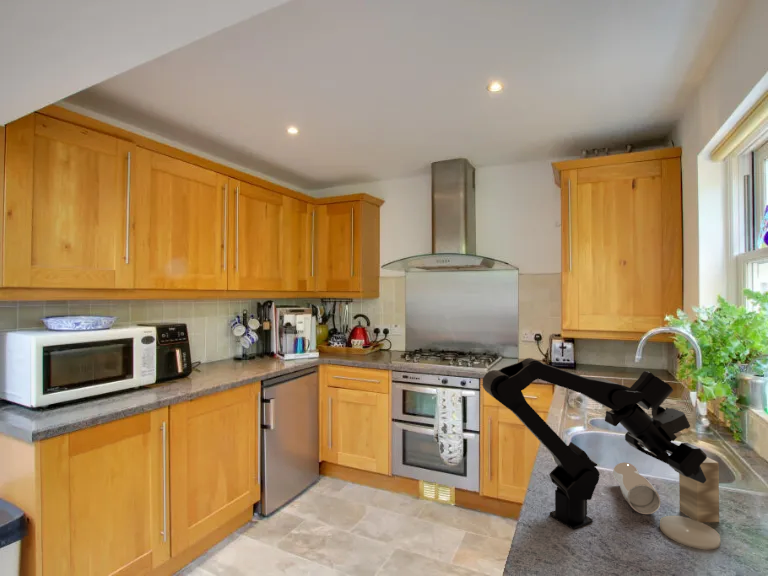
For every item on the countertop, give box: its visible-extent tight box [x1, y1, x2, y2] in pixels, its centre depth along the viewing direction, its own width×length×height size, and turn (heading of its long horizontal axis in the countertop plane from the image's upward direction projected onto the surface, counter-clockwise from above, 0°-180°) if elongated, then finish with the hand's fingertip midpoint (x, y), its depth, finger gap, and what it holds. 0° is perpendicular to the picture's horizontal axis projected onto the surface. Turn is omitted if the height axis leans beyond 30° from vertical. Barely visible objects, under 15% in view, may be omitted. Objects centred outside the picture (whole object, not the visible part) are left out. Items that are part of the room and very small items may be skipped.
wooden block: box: [678, 456, 720, 523], centre depth 91 cm, size 5×5×13 cm
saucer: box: [659, 515, 721, 551], centre depth 84 cm, size 10×10×1 cm
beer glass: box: [612, 462, 662, 516], centre depth 99 cm, size 7×7×15 cm
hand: (687, 472), depth 91 cm, fingers open, 9 cm apart
